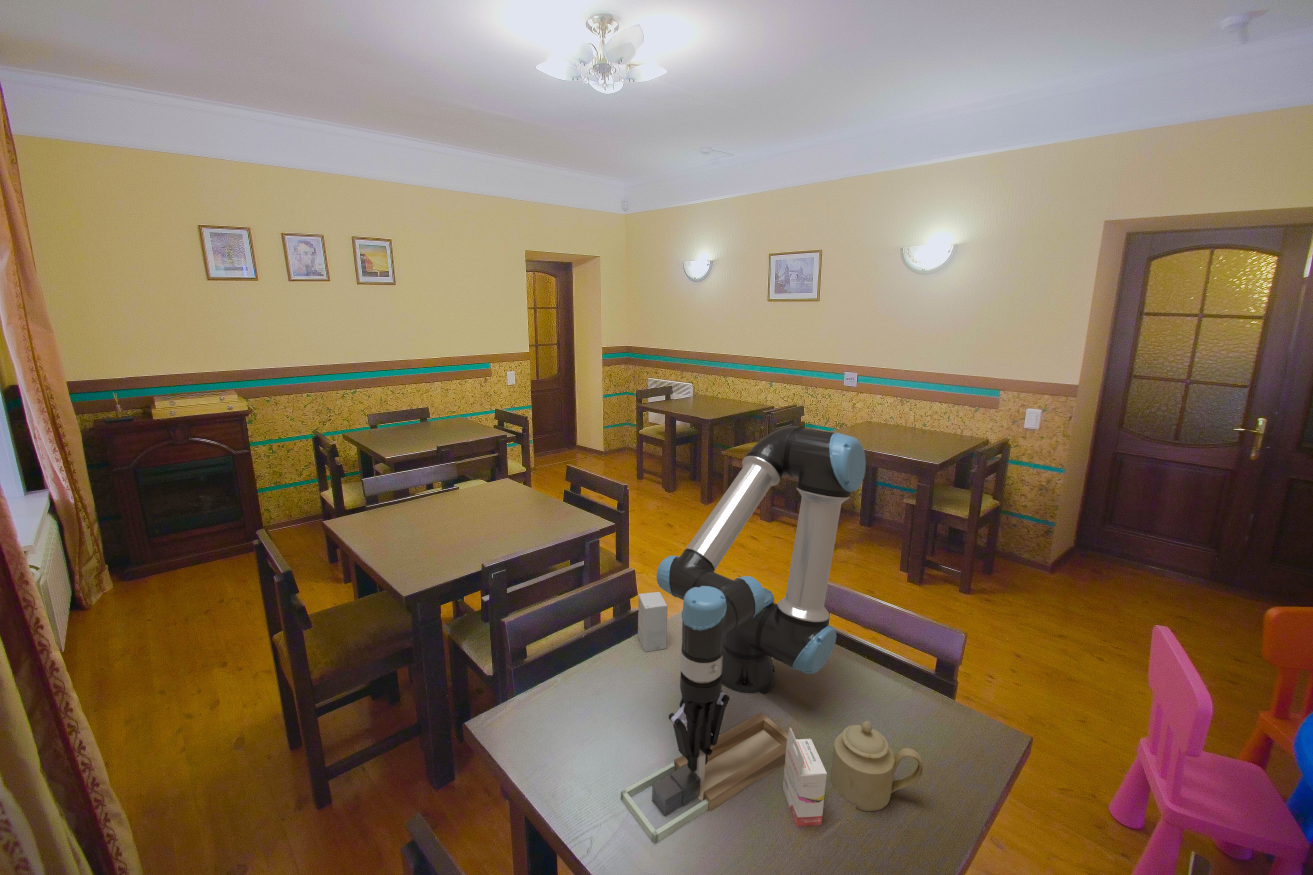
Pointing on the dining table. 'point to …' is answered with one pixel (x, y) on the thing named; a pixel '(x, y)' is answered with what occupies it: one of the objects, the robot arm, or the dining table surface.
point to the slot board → (741, 759)
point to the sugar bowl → (868, 767)
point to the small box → (652, 621)
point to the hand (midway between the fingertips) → (696, 780)
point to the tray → (652, 833)
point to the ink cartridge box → (804, 781)
